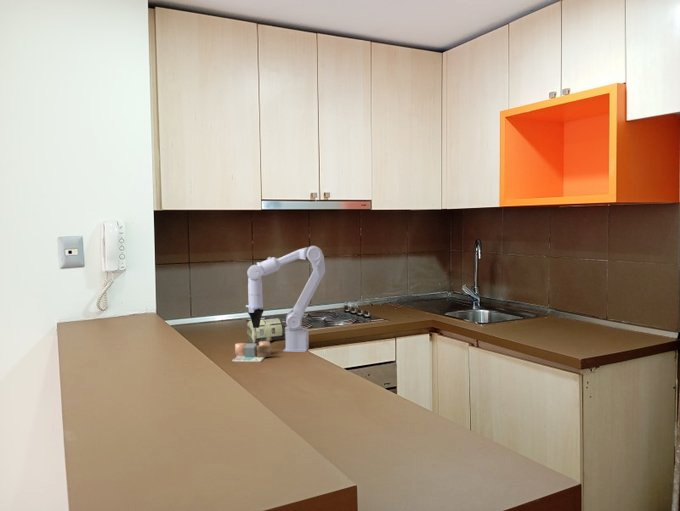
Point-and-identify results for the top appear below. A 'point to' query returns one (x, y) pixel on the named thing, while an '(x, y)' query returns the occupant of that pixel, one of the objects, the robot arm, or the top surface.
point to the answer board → (248, 359)
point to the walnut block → (263, 351)
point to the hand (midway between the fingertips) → (256, 327)
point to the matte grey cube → (250, 349)
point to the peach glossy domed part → (239, 349)
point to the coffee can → (266, 330)
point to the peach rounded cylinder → (264, 343)
